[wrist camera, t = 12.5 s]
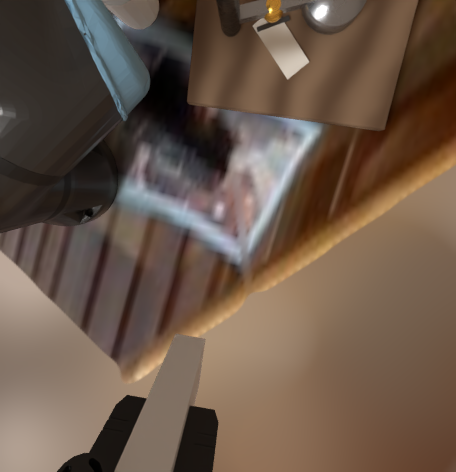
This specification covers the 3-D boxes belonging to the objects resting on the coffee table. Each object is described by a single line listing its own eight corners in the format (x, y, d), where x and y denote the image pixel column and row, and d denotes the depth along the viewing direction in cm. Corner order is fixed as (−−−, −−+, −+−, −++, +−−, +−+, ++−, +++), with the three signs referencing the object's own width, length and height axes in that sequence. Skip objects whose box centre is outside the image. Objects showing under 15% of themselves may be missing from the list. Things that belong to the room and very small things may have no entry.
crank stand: (189, 104, 39) (186, 101, 37) (207, -74, 34) (205, -87, 32) (379, 130, 38) (385, 129, 36) (425, -48, 33) (435, -61, 31)
